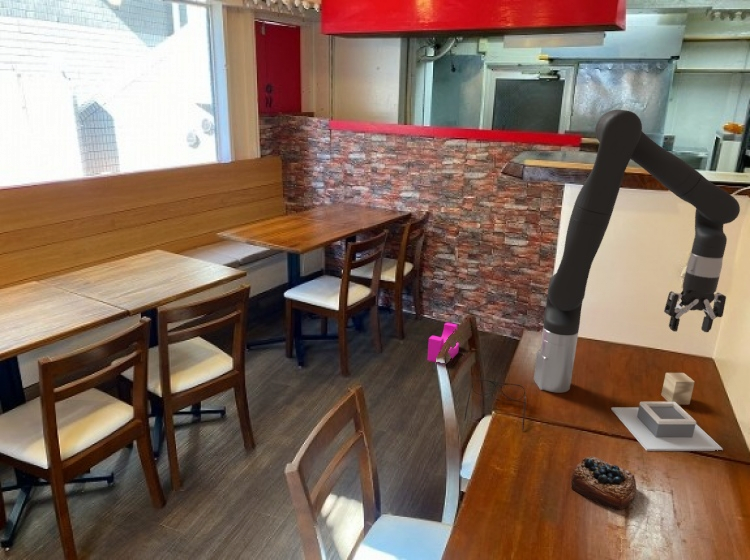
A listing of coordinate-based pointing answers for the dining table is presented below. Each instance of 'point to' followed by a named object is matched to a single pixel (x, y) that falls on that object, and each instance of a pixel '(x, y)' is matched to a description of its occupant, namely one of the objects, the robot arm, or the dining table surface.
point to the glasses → (492, 391)
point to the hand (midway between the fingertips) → (689, 330)
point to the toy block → (442, 343)
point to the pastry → (604, 483)
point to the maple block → (677, 388)
